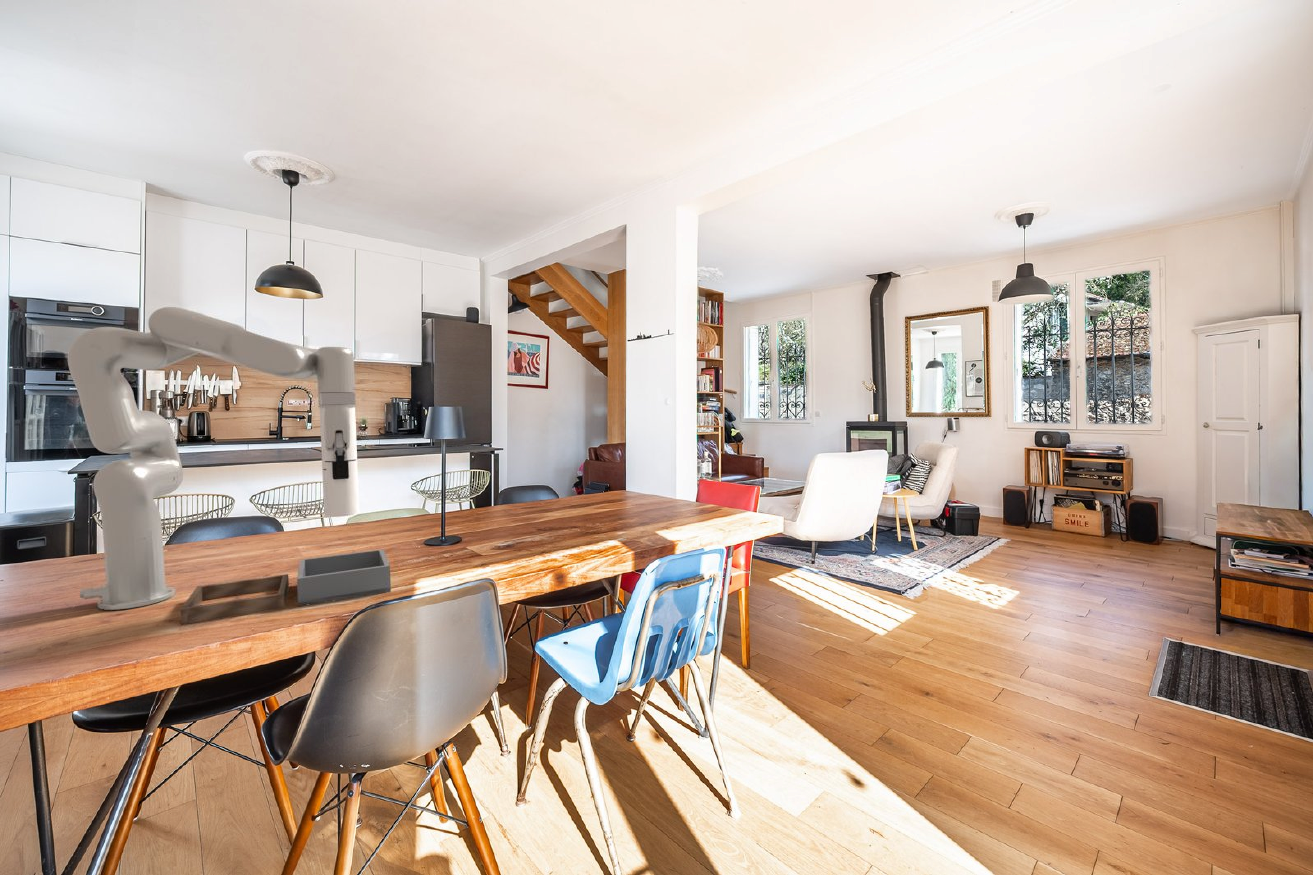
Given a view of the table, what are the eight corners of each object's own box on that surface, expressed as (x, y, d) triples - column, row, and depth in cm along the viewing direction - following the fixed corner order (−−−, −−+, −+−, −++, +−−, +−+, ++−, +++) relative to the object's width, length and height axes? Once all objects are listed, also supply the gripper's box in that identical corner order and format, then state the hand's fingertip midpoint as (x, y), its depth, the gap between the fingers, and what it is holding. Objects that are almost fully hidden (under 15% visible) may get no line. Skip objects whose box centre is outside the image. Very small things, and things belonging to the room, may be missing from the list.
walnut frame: (181, 624, 110) (180, 609, 110) (197, 599, 125) (197, 586, 125) (284, 608, 119) (283, 594, 119) (288, 586, 133) (288, 574, 133)
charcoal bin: (298, 606, 120) (297, 578, 119) (301, 584, 135) (300, 559, 135) (390, 591, 129) (389, 565, 128) (383, 572, 144) (382, 549, 144)
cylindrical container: (343, 517, 127) (339, 407, 125) (316, 516, 128) (312, 407, 127) (366, 511, 134) (362, 406, 132) (340, 510, 135) (335, 407, 134)
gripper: (318, 401, 135) (322, 474, 136) (317, 400, 120) (321, 482, 121) (353, 401, 139) (356, 472, 140) (357, 400, 124) (360, 480, 125)
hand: (340, 476), depth 130 cm, fingers closed on cylindrical container, 7 cm apart
